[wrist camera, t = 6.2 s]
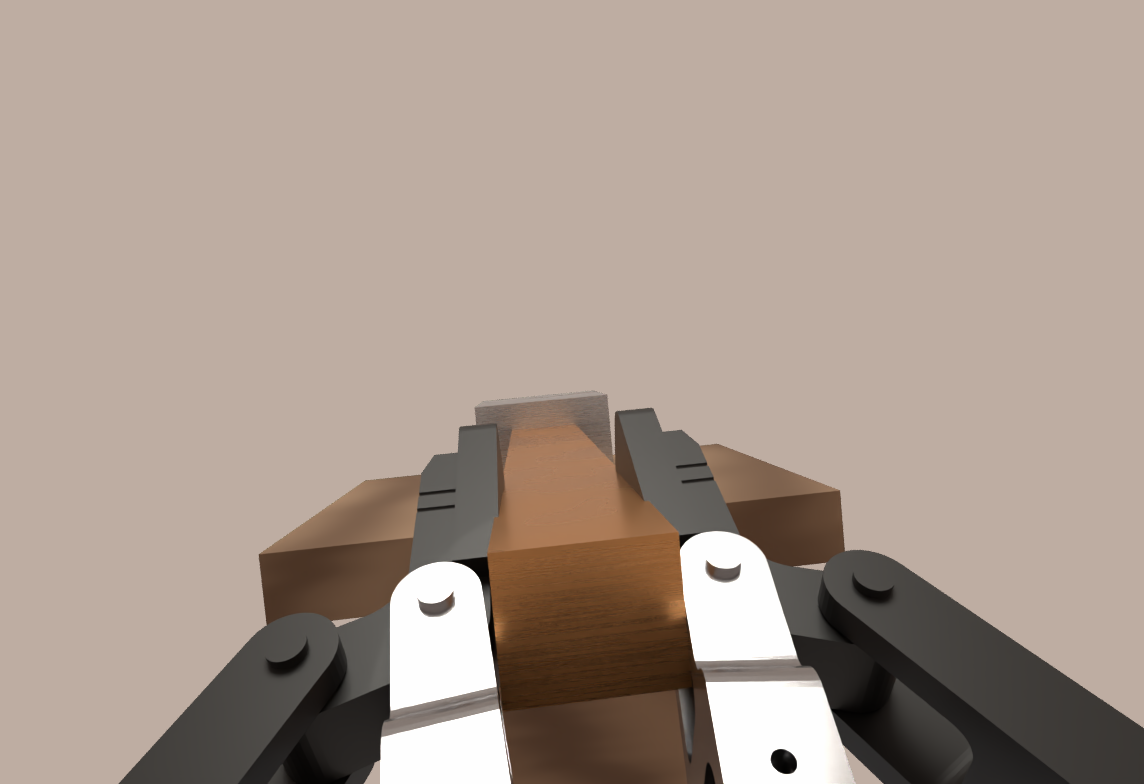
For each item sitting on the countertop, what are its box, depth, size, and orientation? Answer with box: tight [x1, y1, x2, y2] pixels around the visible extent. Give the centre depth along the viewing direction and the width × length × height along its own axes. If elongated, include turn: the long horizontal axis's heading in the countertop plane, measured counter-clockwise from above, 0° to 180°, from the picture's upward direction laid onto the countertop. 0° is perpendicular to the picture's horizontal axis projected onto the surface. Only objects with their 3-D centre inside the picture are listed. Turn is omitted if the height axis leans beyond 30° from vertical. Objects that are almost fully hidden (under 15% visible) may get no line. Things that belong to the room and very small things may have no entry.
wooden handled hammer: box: [475, 391, 692, 712], centre depth 19 cm, size 5×22×3 cm, turn 4°
